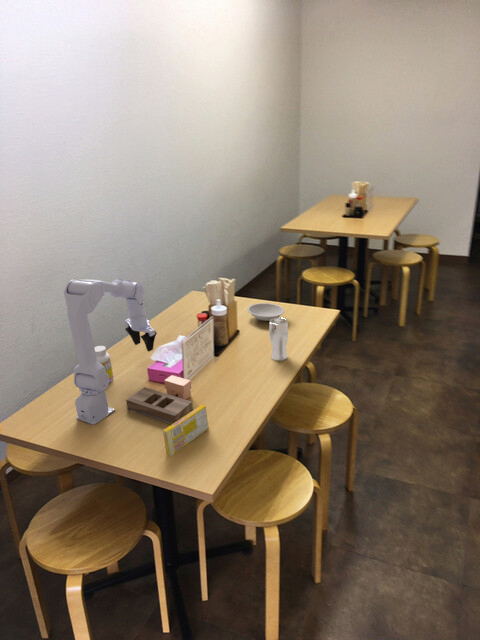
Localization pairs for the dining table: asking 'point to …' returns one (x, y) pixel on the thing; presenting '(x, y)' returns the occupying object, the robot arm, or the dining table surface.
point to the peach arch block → (178, 386)
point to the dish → (265, 311)
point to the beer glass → (278, 338)
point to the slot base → (159, 405)
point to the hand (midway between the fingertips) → (144, 346)
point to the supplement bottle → (104, 360)
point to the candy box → (185, 430)
